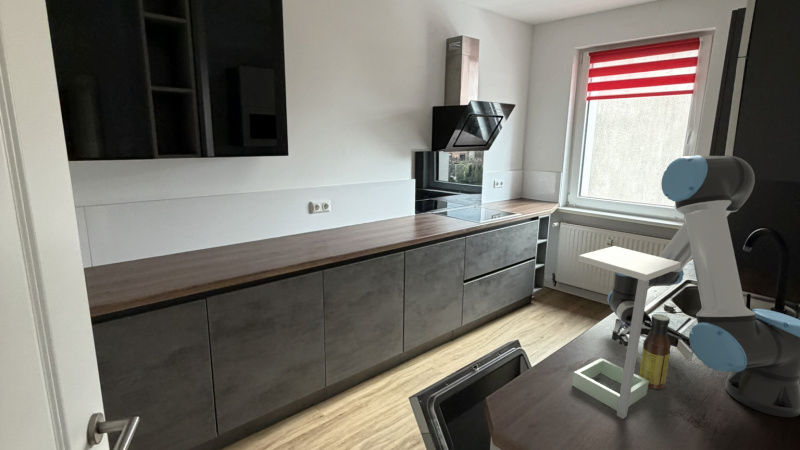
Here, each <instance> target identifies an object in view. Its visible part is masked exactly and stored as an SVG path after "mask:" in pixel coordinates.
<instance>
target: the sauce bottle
mask: <svg viewBox="0 0 800 450" xmlns="http://www.w3.org/2000/svg"><path fill="white" fill-rule="evenodd" d="M650 318H651V321H652V324H651V329H650V332H649V334H648V335H646V337H645V339H644V340H643V343H642V349H641V351H642V352H641V360H640V365H639V371H638V373H639V374H638V376H640V377H642V378H644V379H646V380H648V381H649V383H648V388H650V389H655V390H662V389H664V387H665V386H666V382H667V375H668V370H669V369H668V368H669V362H670V355H671V346H672V344H671V343H670V339H669V338H668V336H667V329H668V327H669V324H671V323H670V319H671V318H670V317H669V316H668V315H665V314H660V313H654V314H652V315H651V317H650Z"/></svg>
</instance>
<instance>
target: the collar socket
mask: <svg viewBox="0 0 800 450" xmlns="http://www.w3.org/2000/svg"><path fill="white" fill-rule="evenodd" d="M623 371H624V367H621V366H619V365H617V364H614V363H613V362H611V361H609V360H606V359H604V358H603V357H601V358H598V359H597V360H594V361H592V362H591V363H589V364H587V365H585V366H583V367H581V368H578V369H577V370H575V371H574V372H573V378H572V383H571V385H572V386H573V387H575V388H576V389H578V390H580V391H581V392H583V393H584V394H585V393H586V394H587V395H589V396H591V397H592V398H594V399H596V400H598V401H599V402H601V403H603V404H605V405H606V406H608V407H610V408H611V409H613V410H615V411H616V412H617V409H618V403H619V396H620V393H618V392H617V391H615V390H613V389H611V388H609V387H607V386H605V385H604V384H601V383H600V382H598V381H596V380H595V379H593V378H595V377H597V376H599V375H600V374H601V373H602V374H601V375H603V374H604V376H605V377H607V378H609V379H611V380H613V381H614V382H616V383H619V384H620V385H621V384H622V378H623ZM598 374H599V375H598ZM596 375H597V376H596ZM648 383H649V381H648V380H646V379H644V378H642V377H640V376H639V374H636V373H634V375H633V381H632V387H631V393H630V399H629V405H628V408H629V407H631V405H633V404H634V403H636V402H637V401H639V400H640V399H643V397H645V396H646V395H647V393H648V388H649V387H648Z"/></svg>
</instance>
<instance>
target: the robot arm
mask: <svg viewBox="0 0 800 450" xmlns="http://www.w3.org/2000/svg"><path fill="white" fill-rule="evenodd" d="M755 177H756V176H755V172H754V170H753V168H752V166H751V165H750V164H749V162H747V161H746V160H744V159H742V158H740V157H737V156H734V155H699V154H694V155H690V156H689V155H687V156H680V157H678V158H676V159H674V160H673V161H672V162H670V163H669V164H668V166H667V167H666V169H665V171H664V172H663V174H662V176H661V184H660V185H661V190H662V193H663V195H664V196H665V197H667V199H669V200H670V201H672V202H674V203H675V207H676V212H678V213H680V214H681V215H683V216H684V220H685V221H684V223H683V224H682V225H681V226H680V228H678V230H677V231H676V233H675V234H674V235H673V237H672V238H671V240H669V243H668V244H667V245H666V246H665V248H664V249H663V250H662V251H661V253H660V254H659V256H658V257H661V258H665V259H669V260H673V261H677V262H681V265H680V268H679V269H677V270H674V271H671V272H669V273H666V274H663V275H661V276H658V277H655V278H653V279H650V280H649V285H648V288H651V287H670V286H673V285H678V284H680V283H682V281H683V279H684V276H685V274H684V268H685V267H686V266H687V265H688V263H689V262H690V261H691V260H692V261H693V266H694V273H695V277H696V283H697V288H698V289H697V290H698V293H699V298H700V303H701V309H700V310H699V311H698V312H697V313H696V322H697V324H695V325H694V326H693V327H691V331H689V334H688V336H686V335H685V334H682V333H681V332H679V331H677V330H675V329H674V328H672V327H670V326H668V329H667V336H668V338H669V339H670V343H671V345H673V346H675V347H676V349H677V350H678V352H679V354H681V355H682V356H683V357H684V358H685V360H686V361H687V362H689V363H691V362H692V361H693V355H695V357H696V358H697V359H698V360H699V361H701V362H702V363H703V364H704V366H706V367H707V368H710V369H712V370H714V371H716V372H720V373H721V372H723V373H729V374H728V376H727V377H726V381H725V385H724V386H725V387H724V388H725V390H726V392H727V393H728V394H729V395H730V396H731V397H732V398H733V399H734V400H736V401H738V402H739V403H740V404H743V405H744V406H746V407H748V408H751V409H753V410H755V411H758V412H759V413H764V414H767V415H770V416H774V417H780V418H781V417H782V418H795V417H798V416H800V319H798V318H796V317H793V316H790V315H788V314H784V313H783V312H782V313H781V312H778V311H775V310H769V309H764V308H753V309H752V310H751V309H749V308H748V307H747V305H746V304H745V299H744V296H743V295H744V294H743V290H742V284H741V279H740V275H739V271H738V270H739V269H738V265H737V260H736V256H735V250H734V246H733V242H732V241H733V240H732V236H731V231H730V227H729V223H728V217H729V215H730V214H731V213H734V212H738V211H739V210H740V208H742V206H743V205H744V204H745V203H746V202H747V200H748V199H749V197H750V196H751V194H752V192H753V189H754V186H755V182H756V181H755V179H756V178H755ZM637 284H638V279H637V278H634V277H630V276H627V275H623V274H620V273H617V272H614V282H613V287H612V290H611V291H610V292H609V293H608V295H607V303H608V305H609V308H610V310H612V311H613V313H614V314H615V315H616V316H617V318H616V319H615V324H614V327H613V329H612V334H611V340H612V341H617V340H618V344H619V345H623V346H624V347H627V346H628V340H629V334H630V328H631V321H632V315H633V309H634V303H635V296H636V290H637ZM651 318H652V317H650V315H649V314H648V313H647V311H645V310H644V315H643V321H642V327H641V333H640V336H642V335H645V336H647V335H648V334H649V332H650V329H651V324H652V320H651ZM623 328H624V330H622V329H623ZM621 330H622V331H621Z"/></svg>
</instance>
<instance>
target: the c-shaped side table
mask: <svg viewBox="0 0 800 450" xmlns="http://www.w3.org/2000/svg"><path fill="white" fill-rule="evenodd" d="M577 261H578V262H581V263H584V264H587V265H591V266H594V267H597V268H600V269H603V270H608V271H610V272H613V273H615V272H617V273H620V274H623V275H627V276H630V277H634V278H637V279H638V284H637V290H636V296H635V303H634V309H633V315H632V321H631V328H630V334H629V340H628V346H626V354H625V361H624V366H623V369H624V371H623V378H622V384H621V383H620V385H621V386H620V391H619V394H620V396H619V403H618V409H617V411H616V416H617V417H619V418H620V419H621V420H622V419H625V418H627V416H628V412H629V411H628V410H629V407H628V405H629V399H630V393H631V387H632V381H633V375H634V374H635V367H636V362H637V356H638V350H639V344H640V339H641V335H640V333H641V327H642V321H643V315H644V311H645V307H646V303H647V297H648V291H649V287H648V285H649V280H650V279H653V278H655V277H658V276H661V275H663V274H666V273H669V272H671V271H674V270H677V269H679V268H680V265H681V262H677V261H673V260H669V259H665V258H661V257H659V256H657V255H653V254H649V253H645V252H640V251H638V250H633V249H628V248H624V247H620V246H616V245H613V246H609V247H606V248H601V249H597V250H595V251H594V250H593V251H590V252H586V253H583V254H579V255H578V259H577Z"/></svg>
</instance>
